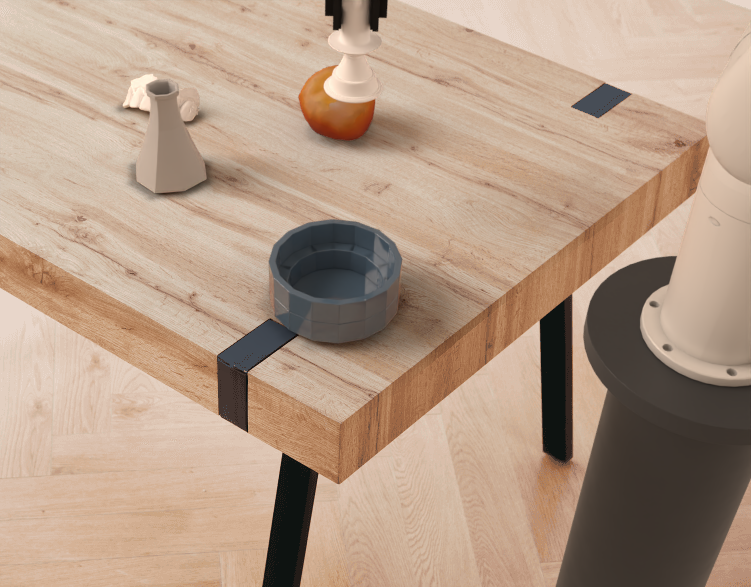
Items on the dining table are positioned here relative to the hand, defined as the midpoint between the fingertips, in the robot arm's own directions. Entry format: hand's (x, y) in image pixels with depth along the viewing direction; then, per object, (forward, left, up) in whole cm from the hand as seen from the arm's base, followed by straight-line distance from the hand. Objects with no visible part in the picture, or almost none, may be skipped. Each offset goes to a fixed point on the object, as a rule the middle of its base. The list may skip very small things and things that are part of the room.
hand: (355, 21), depth 92 cm
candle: (0, 0, -7) cm, 7 cm away
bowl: (-6, +13, -20) cm, 24 cm away
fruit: (+8, -11, -20) cm, 24 cm away
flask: (+18, +5, -20) cm, 27 cm away
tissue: (+26, -4, -20) cm, 33 cm away
